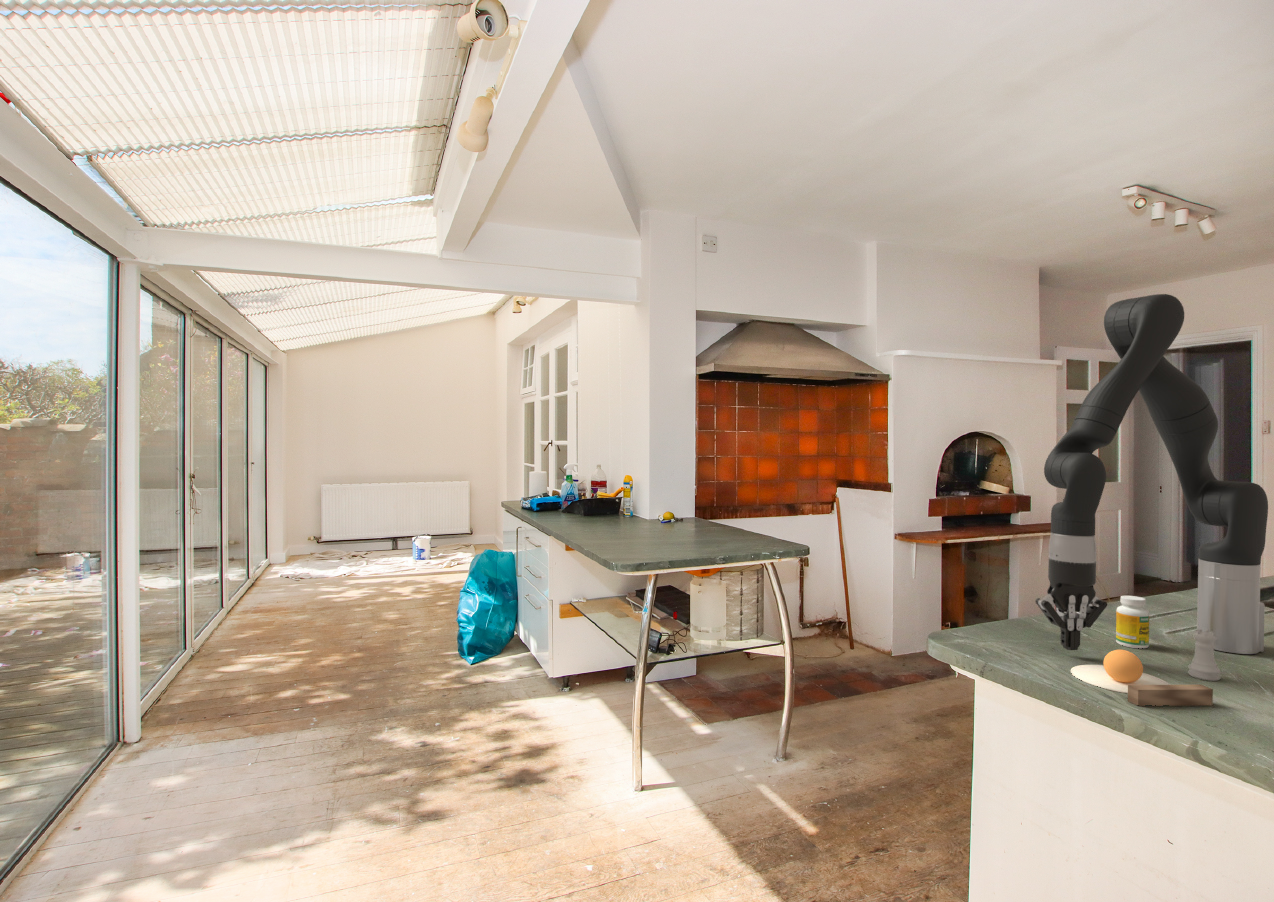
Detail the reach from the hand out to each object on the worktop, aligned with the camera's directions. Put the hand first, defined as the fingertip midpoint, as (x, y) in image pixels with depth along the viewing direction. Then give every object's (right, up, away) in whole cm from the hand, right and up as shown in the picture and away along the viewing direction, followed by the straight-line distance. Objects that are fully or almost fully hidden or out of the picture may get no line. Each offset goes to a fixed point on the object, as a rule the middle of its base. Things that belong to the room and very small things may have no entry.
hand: (1070, 648), depth 124 cm
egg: (0, +1, -13) cm, 13 cm away
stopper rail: (+1, -2, -22) cm, 22 cm away
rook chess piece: (+16, -2, -10) cm, 19 cm away
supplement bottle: (+18, -2, +8) cm, 19 cm away
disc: (+1, -2, -12) cm, 12 cm away
